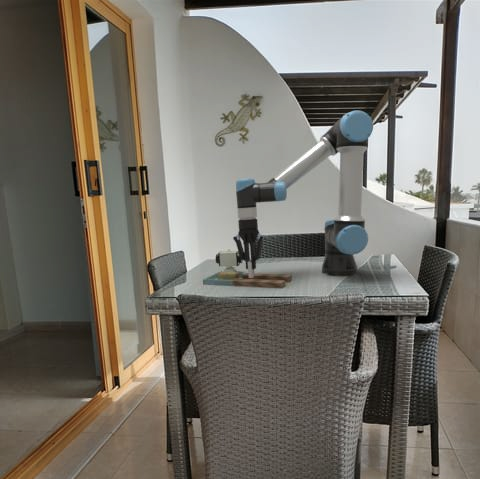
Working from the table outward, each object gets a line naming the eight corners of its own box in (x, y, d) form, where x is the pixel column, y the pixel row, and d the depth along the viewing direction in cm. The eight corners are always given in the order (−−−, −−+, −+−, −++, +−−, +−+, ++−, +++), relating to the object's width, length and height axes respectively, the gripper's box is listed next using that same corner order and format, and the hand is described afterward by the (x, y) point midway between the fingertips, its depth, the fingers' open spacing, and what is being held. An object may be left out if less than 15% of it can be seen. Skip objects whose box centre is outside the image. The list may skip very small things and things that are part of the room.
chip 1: (230, 281, 149) (229, 271, 148) (226, 283, 145) (225, 273, 145) (221, 280, 150) (221, 271, 150) (217, 283, 147) (216, 273, 146)
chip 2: (239, 281, 147) (238, 272, 147) (235, 283, 144) (234, 274, 143) (230, 281, 149) (229, 271, 148) (226, 283, 145) (225, 273, 145)
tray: (246, 280, 151) (245, 273, 151) (232, 288, 139) (232, 280, 138) (218, 278, 156) (218, 272, 156) (203, 286, 144) (202, 279, 143)
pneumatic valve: (241, 276, 159) (240, 249, 157) (216, 276, 161) (214, 250, 160) (244, 273, 164) (242, 248, 163) (219, 273, 167) (218, 248, 165)
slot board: (291, 281, 144) (291, 274, 143) (282, 291, 131) (281, 283, 130) (246, 280, 151) (245, 273, 151) (232, 288, 139) (232, 280, 138)
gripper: (266, 217, 141) (269, 275, 144) (236, 218, 146) (240, 274, 149) (260, 218, 134) (263, 279, 137) (228, 220, 139) (233, 278, 142)
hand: (251, 277), depth 143 cm, fingers closed
